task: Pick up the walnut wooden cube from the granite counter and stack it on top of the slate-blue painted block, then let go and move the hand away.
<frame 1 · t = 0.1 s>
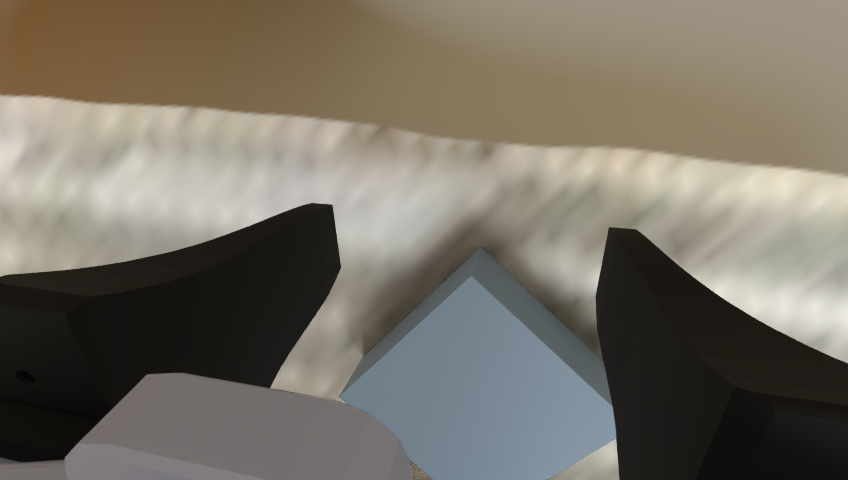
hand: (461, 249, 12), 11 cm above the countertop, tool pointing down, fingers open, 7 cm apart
slate block: (484, 362, 26), on the countertop
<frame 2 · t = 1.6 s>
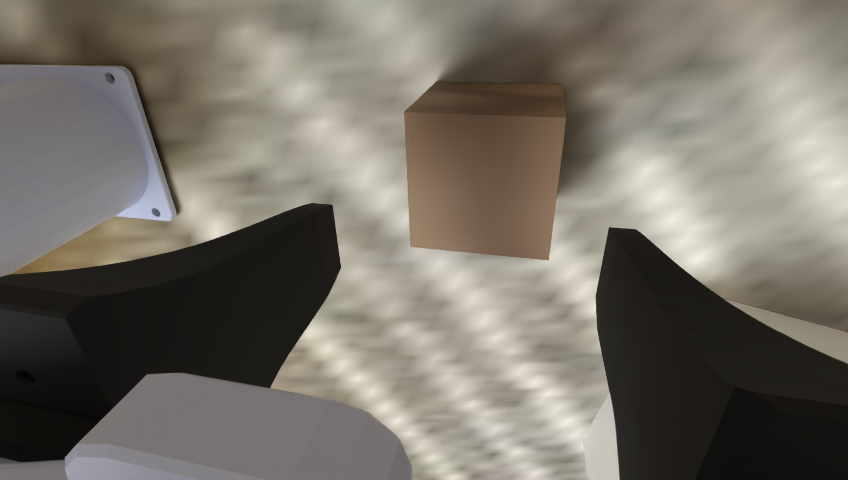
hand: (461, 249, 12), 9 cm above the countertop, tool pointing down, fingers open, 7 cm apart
milk: (739, 403, 24), on the countertop
walnut cube: (494, 143, 20), on the countertop
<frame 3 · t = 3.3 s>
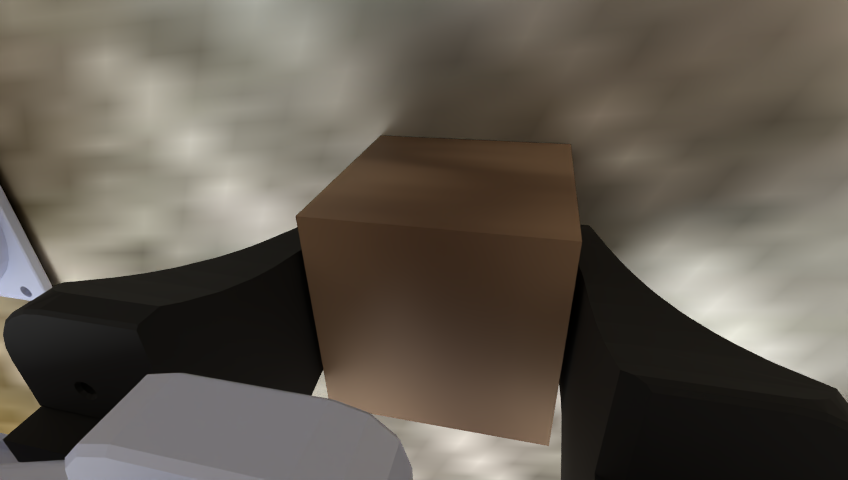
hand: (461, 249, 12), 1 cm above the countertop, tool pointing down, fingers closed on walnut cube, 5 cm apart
walnut cube: (469, 224, 13), on the countertop, touching gripper
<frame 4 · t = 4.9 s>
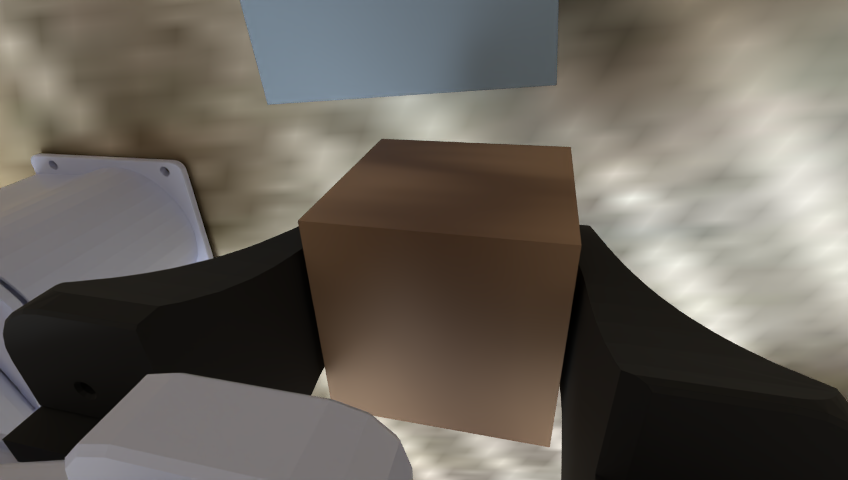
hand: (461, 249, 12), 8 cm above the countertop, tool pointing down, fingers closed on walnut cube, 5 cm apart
walnut cube: (470, 226, 13), point 7 cm above the countertop, touching gripper
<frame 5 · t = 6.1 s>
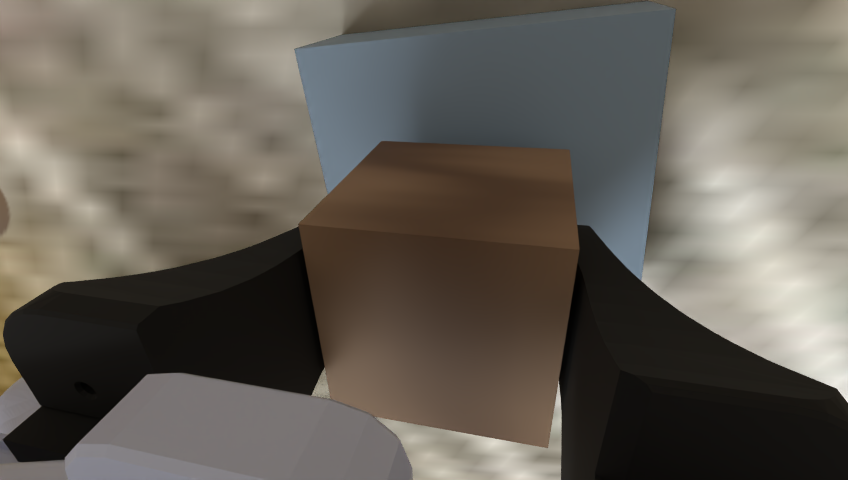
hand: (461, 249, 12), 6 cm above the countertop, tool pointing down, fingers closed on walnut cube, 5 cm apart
slate block: (490, 160, 18), on the countertop
walnut cube: (469, 228, 14), point 5 cm above the countertop, touching gripper
when the fingers open (6 cm above the countertop, at t = 6.8 s): walnut cube drops 1 cm, point 4 cm above the countertop.
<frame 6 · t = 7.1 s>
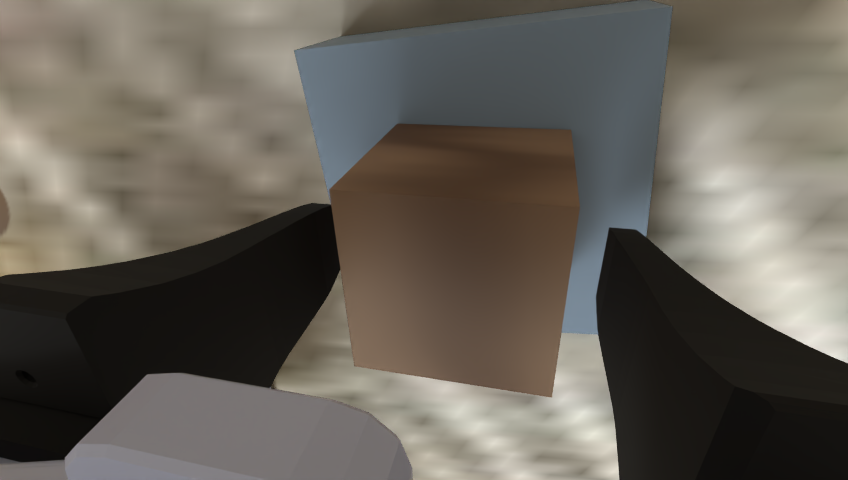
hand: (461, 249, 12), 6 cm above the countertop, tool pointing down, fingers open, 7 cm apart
slate block: (490, 160, 18), on the countertop
walnut cube: (478, 205, 15), point 4 cm above the countertop
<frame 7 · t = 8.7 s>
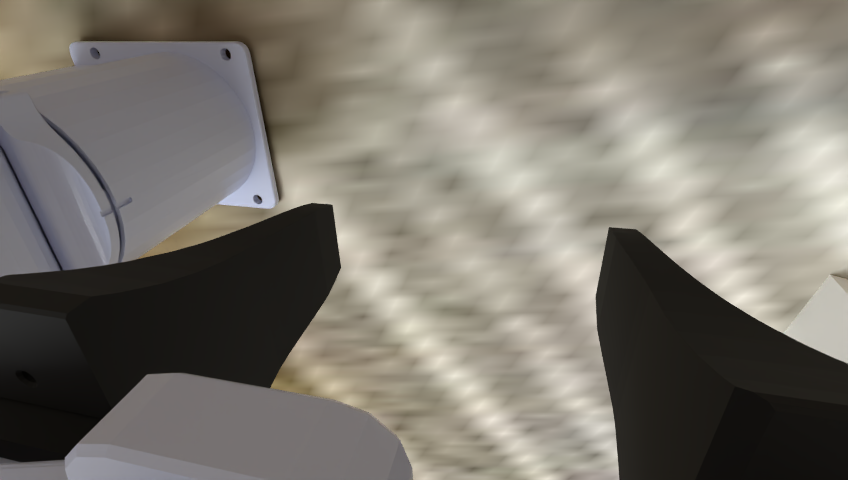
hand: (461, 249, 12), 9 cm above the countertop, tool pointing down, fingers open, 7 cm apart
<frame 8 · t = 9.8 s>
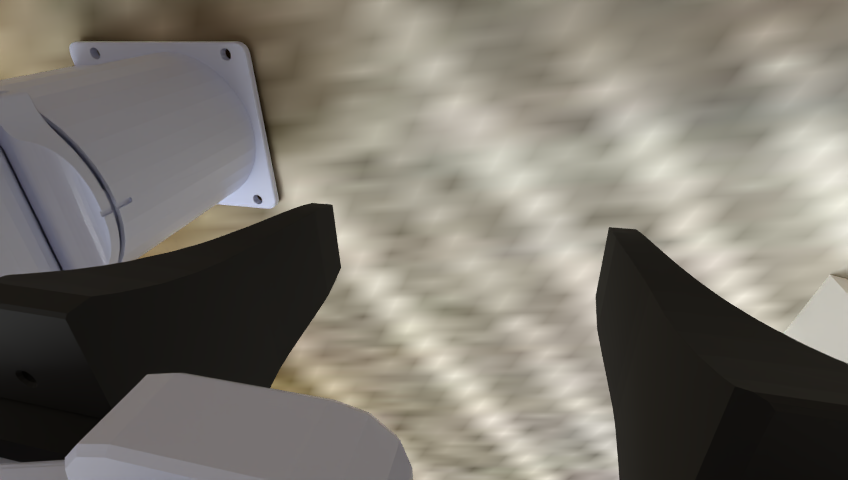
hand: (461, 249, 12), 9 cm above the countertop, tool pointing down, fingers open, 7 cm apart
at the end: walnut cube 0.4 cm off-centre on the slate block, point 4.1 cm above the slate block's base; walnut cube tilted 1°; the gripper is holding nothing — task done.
